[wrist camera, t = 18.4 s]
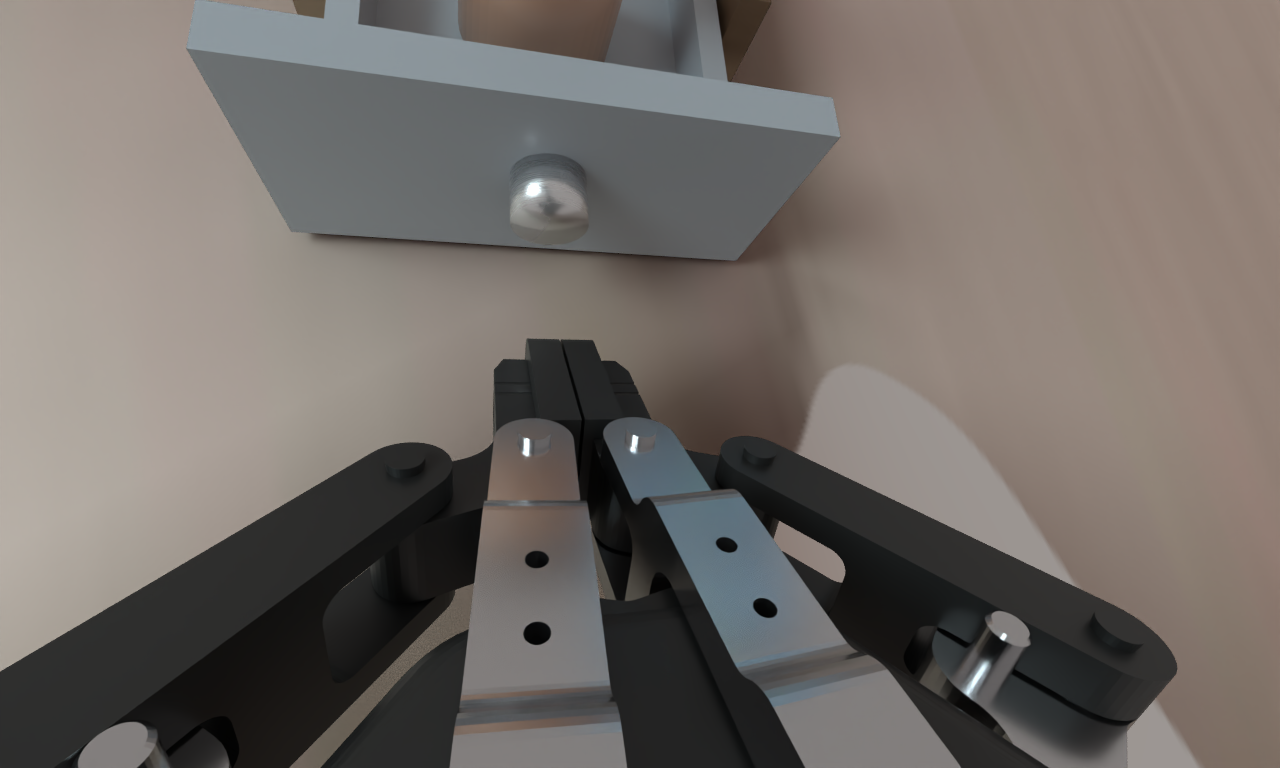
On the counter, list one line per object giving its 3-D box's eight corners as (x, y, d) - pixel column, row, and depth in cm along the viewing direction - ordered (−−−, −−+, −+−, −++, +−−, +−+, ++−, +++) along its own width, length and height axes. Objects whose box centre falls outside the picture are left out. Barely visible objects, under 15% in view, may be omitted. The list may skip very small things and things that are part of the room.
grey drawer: (740, 296, 20) (850, 184, 14) (286, 275, 16) (175, 110, 10) (698, -23, 24) (768, -214, 18) (327, -99, 20) (263, -371, 14)
